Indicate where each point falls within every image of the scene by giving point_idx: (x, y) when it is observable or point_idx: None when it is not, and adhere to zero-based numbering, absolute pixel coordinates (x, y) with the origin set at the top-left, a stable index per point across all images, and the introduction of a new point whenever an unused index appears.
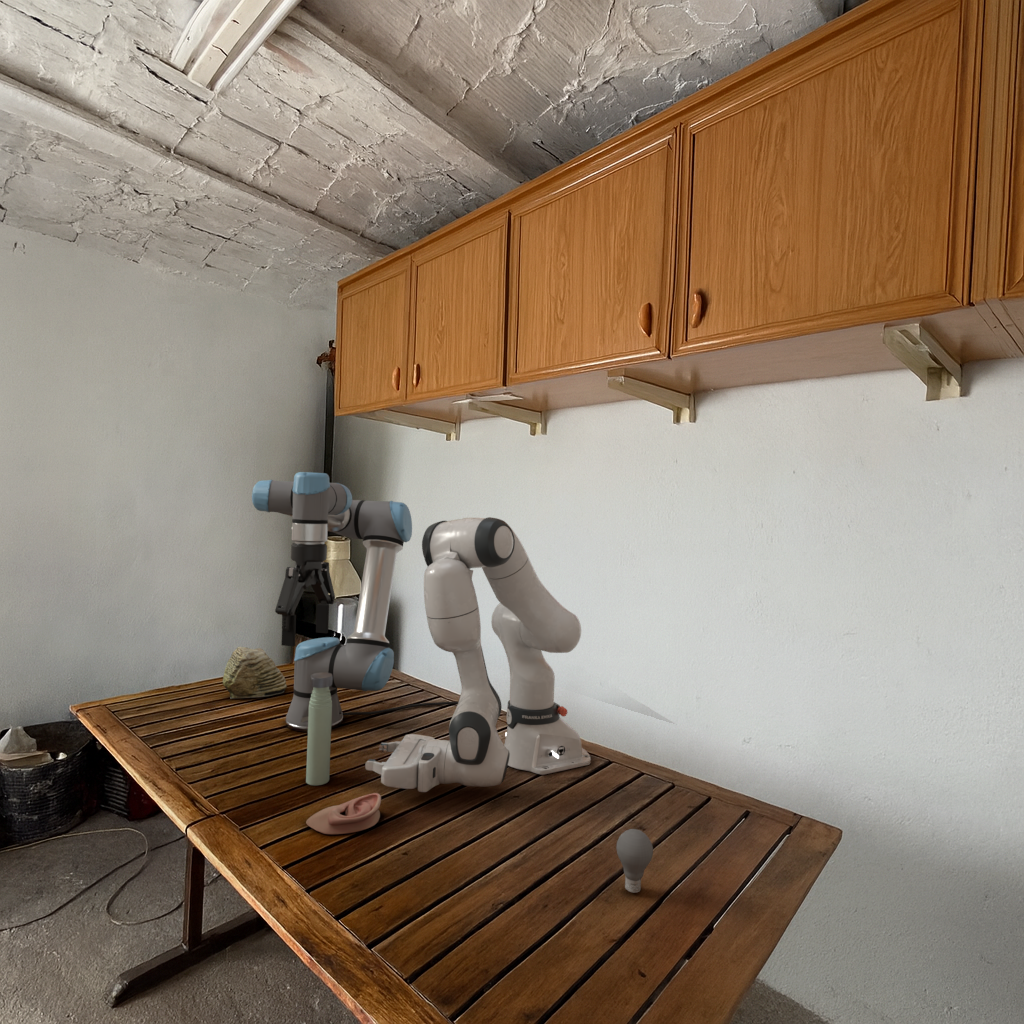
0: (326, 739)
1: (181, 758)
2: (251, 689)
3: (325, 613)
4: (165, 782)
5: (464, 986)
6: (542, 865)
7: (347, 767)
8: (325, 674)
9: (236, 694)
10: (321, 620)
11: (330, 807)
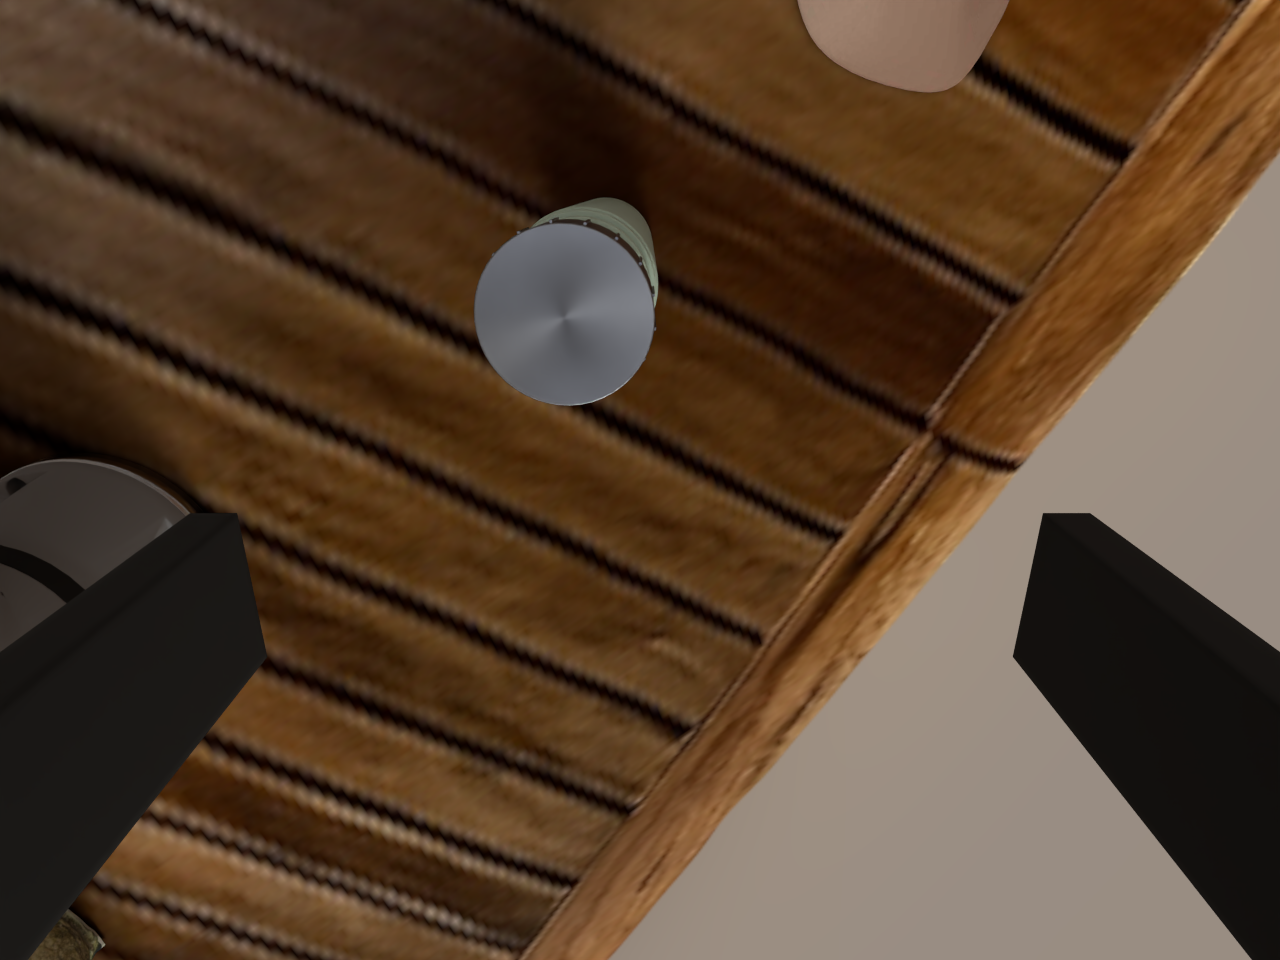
0: (618, 206)
1: (609, 769)
2: None
3: (29, 725)
4: (774, 703)
5: None
6: None
7: (447, 189)
8: (531, 299)
9: (84, 942)
10: (145, 699)
11: (879, 19)
